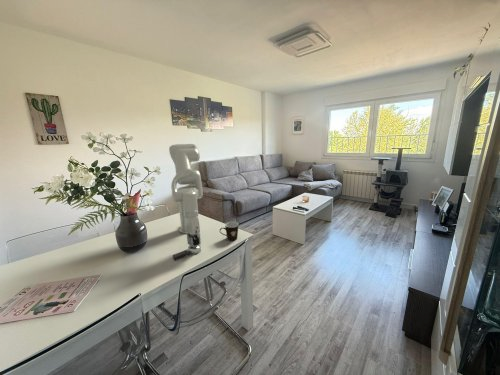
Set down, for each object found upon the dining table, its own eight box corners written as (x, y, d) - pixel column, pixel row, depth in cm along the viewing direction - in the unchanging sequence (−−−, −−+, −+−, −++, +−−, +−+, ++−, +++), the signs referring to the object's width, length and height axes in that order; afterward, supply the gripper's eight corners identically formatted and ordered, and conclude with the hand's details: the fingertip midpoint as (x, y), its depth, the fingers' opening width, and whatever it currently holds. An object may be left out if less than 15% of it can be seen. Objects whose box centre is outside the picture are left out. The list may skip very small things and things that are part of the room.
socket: (187, 243, 118) (186, 234, 117) (196, 240, 122) (195, 231, 120) (192, 247, 114) (191, 237, 113) (200, 243, 118) (199, 234, 116)
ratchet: (171, 256, 114) (170, 245, 112) (197, 246, 124) (196, 236, 122) (176, 262, 109) (175, 250, 107) (203, 251, 119) (202, 240, 117)
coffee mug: (239, 235, 137) (239, 221, 134) (237, 242, 129) (237, 227, 126) (222, 235, 138) (222, 221, 136) (219, 241, 130) (218, 227, 127)
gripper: (178, 211, 117) (181, 239, 121) (192, 219, 105) (195, 251, 109) (190, 207, 122) (193, 235, 126) (205, 215, 110) (207, 246, 114)
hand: (194, 242), depth 118 cm, fingers closed on socket, 5 cm apart
